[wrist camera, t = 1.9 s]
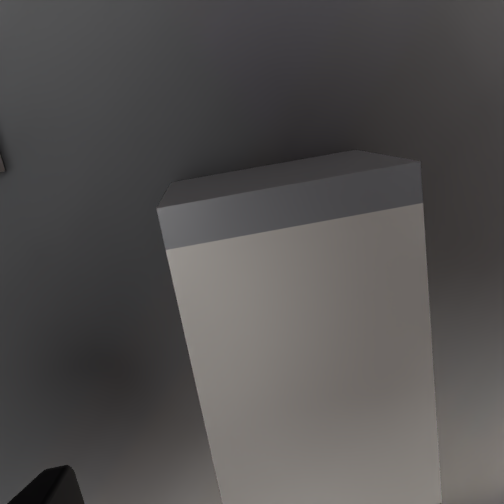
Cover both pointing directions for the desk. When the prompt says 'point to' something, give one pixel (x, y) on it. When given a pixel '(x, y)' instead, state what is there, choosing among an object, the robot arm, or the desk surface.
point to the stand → (1, 165)
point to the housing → (310, 328)
